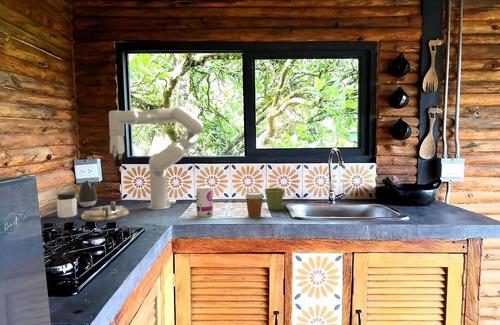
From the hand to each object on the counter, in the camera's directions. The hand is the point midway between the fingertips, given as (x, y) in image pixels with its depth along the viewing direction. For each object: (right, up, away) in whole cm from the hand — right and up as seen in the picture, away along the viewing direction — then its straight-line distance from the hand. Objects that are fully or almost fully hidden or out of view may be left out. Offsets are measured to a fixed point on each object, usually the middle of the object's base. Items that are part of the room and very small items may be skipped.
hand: (118, 166), depth 178 cm
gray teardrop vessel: (-25, -24, +16) cm, 38 cm away
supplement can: (+49, -26, -10) cm, 57 cm away
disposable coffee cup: (+75, -26, -13) cm, 81 cm away
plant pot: (+87, -24, +3) cm, 90 cm away
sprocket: (-4, -24, -8) cm, 26 cm away
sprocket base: (-4, -26, -7) cm, 27 cm away
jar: (-24, -26, -9) cm, 36 cm away
